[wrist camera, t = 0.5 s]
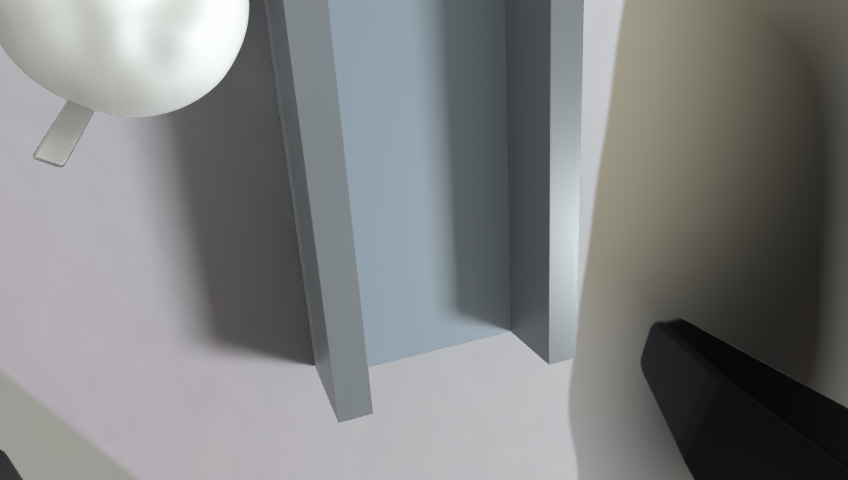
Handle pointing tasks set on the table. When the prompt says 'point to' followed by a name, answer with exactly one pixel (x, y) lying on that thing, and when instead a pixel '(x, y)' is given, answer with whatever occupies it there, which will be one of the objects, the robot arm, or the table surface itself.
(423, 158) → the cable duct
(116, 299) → the table surface
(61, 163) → the milkshake
